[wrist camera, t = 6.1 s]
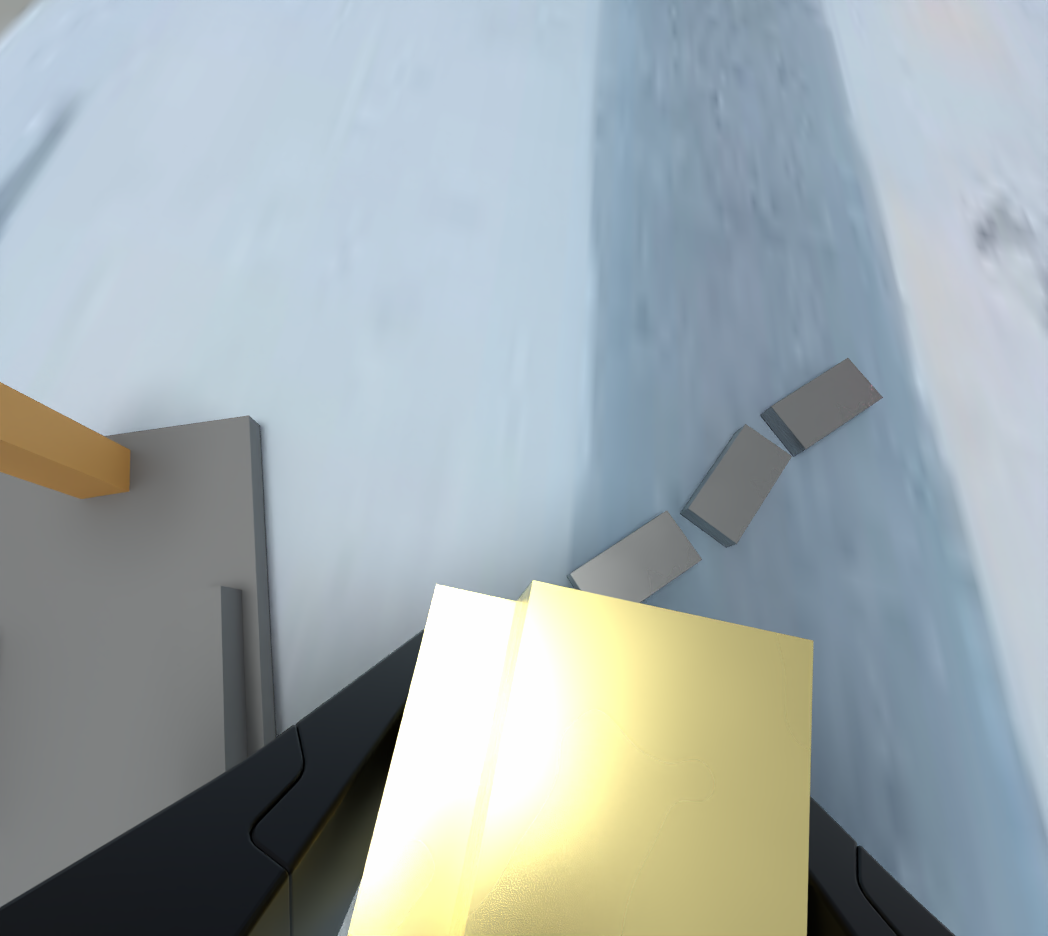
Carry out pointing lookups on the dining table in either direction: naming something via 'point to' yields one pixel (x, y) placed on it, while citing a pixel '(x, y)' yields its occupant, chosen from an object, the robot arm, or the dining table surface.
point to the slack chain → (728, 488)
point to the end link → (594, 775)
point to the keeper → (123, 626)
